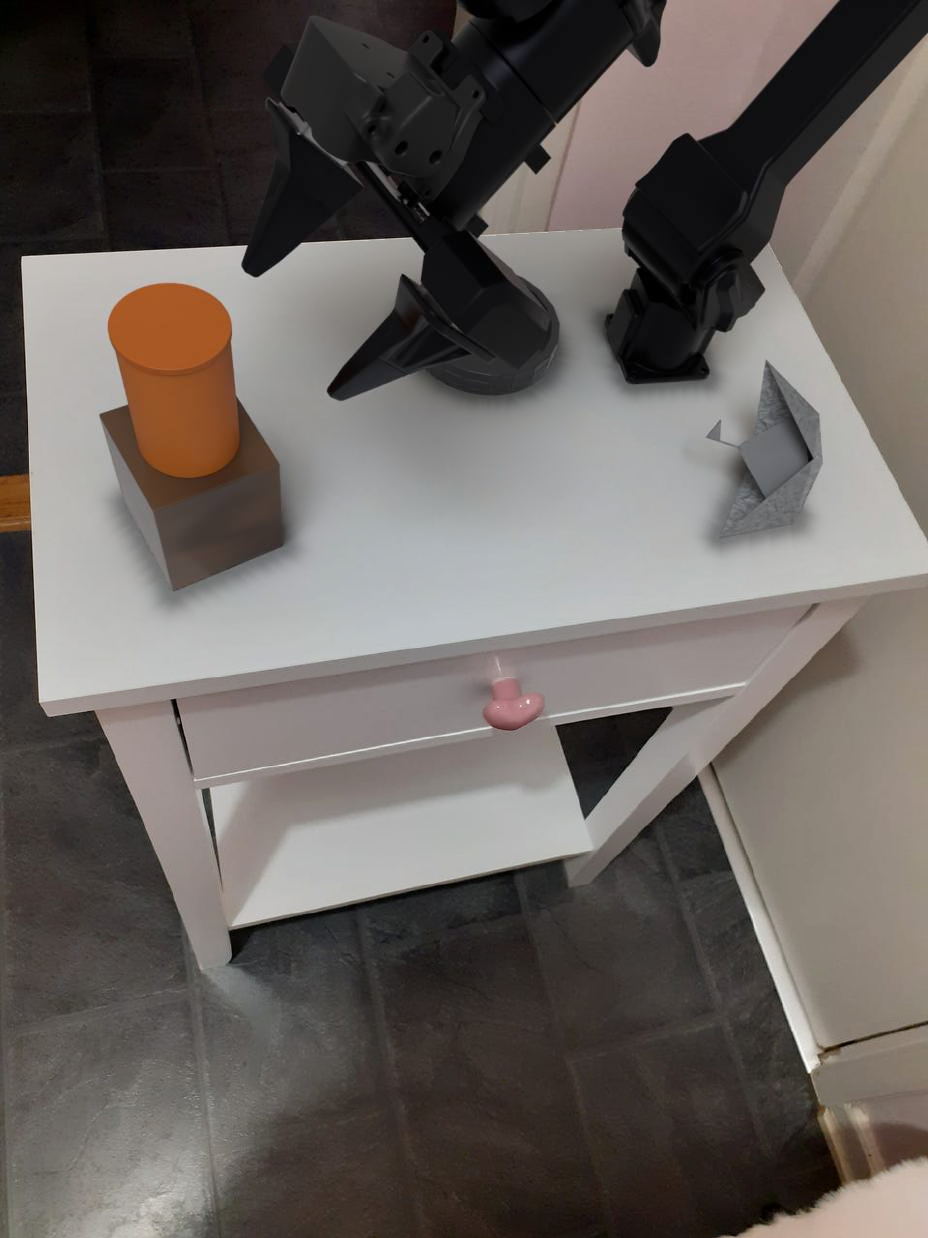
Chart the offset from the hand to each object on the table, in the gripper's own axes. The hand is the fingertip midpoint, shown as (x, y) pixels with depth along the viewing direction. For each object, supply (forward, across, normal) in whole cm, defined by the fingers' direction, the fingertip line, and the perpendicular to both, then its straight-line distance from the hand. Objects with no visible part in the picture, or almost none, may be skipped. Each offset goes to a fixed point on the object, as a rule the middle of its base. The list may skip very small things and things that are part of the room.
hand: (289, 332), depth 46 cm
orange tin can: (+8, 0, 0) cm, 8 cm away
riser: (+14, 0, +5) cm, 14 cm away
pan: (-4, -6, +22) cm, 23 cm away
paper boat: (-11, +12, +30) cm, 34 cm away
